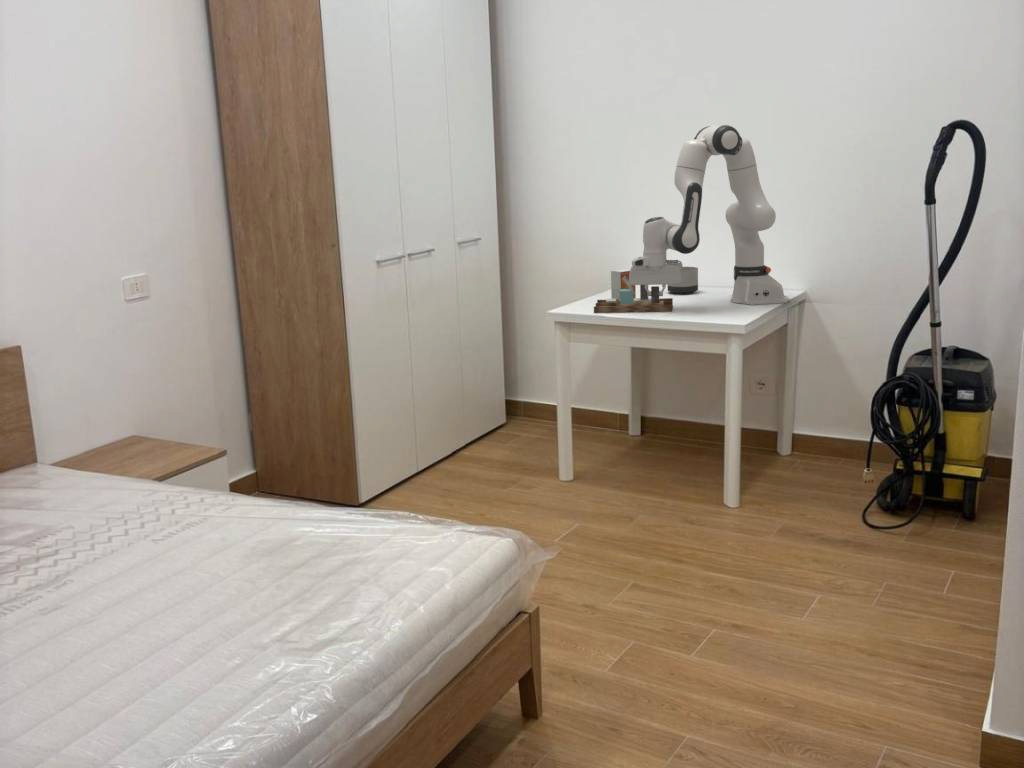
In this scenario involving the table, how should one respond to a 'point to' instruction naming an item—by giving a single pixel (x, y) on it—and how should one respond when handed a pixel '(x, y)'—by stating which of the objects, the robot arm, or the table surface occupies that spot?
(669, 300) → the lane board
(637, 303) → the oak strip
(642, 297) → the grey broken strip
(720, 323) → the table surface
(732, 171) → the robot arm
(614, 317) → the table surface
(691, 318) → the table surface
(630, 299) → the teal cube
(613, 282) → the small box
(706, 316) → the table surface
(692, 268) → the planter
